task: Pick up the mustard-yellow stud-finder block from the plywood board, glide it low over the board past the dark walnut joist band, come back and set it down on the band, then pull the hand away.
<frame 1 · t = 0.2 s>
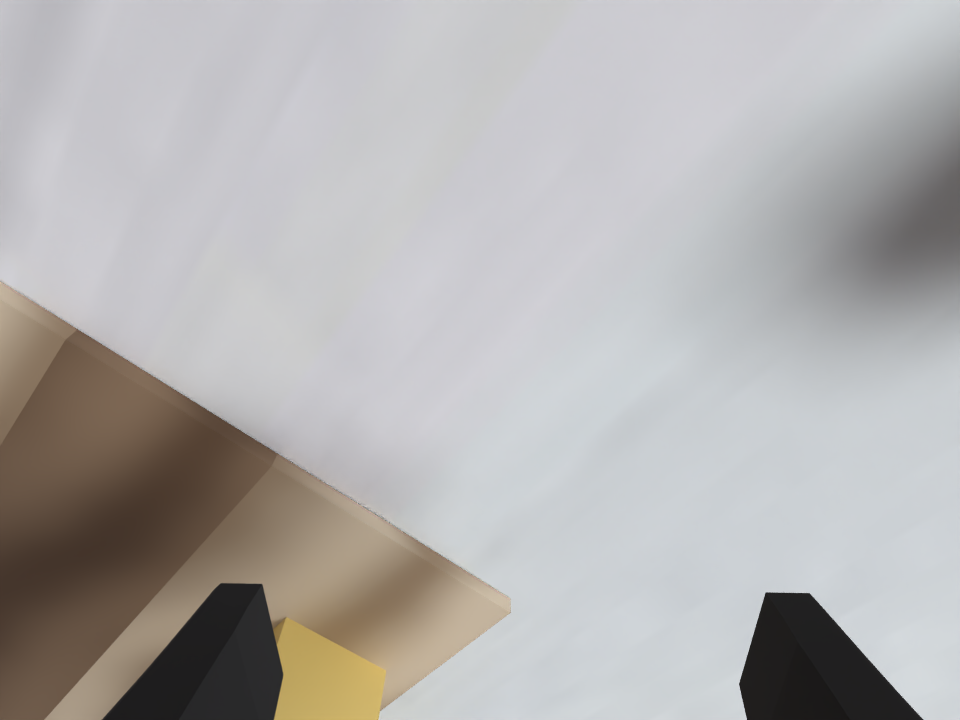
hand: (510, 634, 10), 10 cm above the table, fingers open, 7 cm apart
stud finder: (272, 700, 26), point 1 cm above the table, touching subfloor board
subfloor board: (138, 617, 25), on the table
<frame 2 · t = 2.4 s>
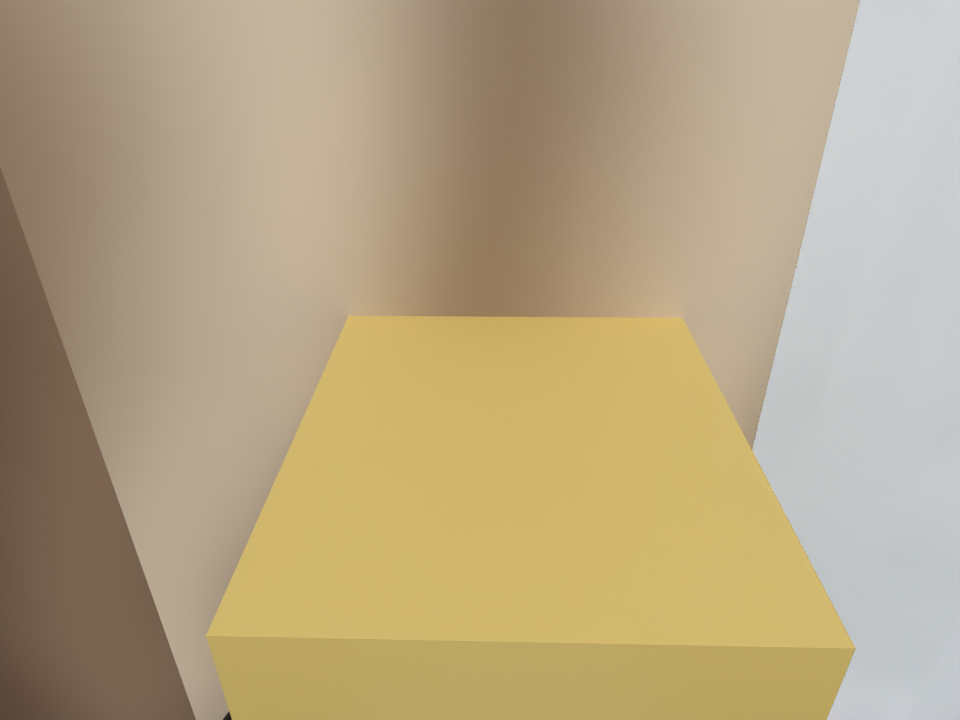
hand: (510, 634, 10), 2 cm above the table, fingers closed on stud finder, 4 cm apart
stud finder: (509, 562, 11), point 1 cm above the table, touching gripper, subfloor board
subfloor board: (165, 531, 12), on the table
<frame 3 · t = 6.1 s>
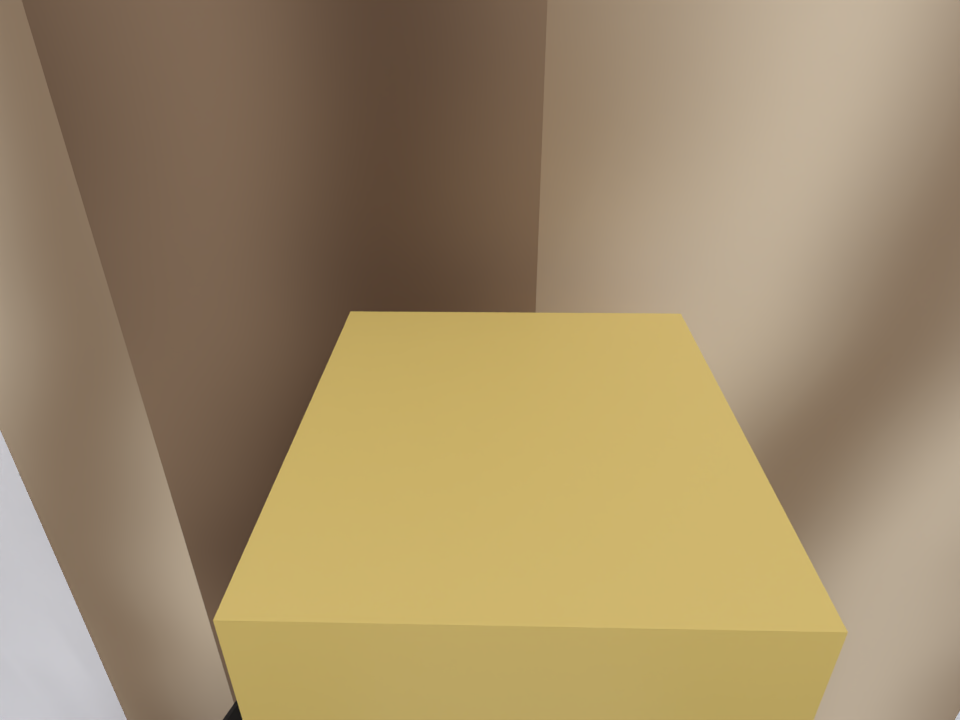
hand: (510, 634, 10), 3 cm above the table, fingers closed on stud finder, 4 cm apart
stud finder: (509, 556, 11), point 2 cm above the table, touching gripper
subfloor board: (537, 482, 13), on the table
when the fingers open (3 cm above the table, at t = 9.9 s): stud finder stays where it is, resting on subfloor board.
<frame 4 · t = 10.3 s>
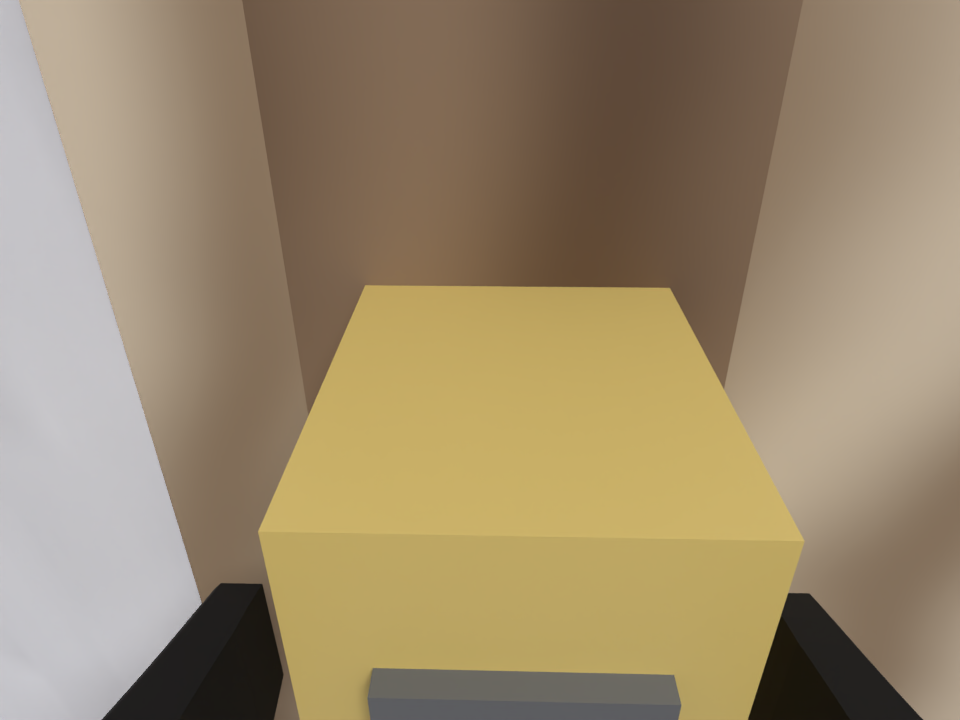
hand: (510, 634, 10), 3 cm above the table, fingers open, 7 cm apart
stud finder: (510, 520, 12), point 1 cm above the table, touching subfloor board
subfloor board: (699, 500, 12), on the table
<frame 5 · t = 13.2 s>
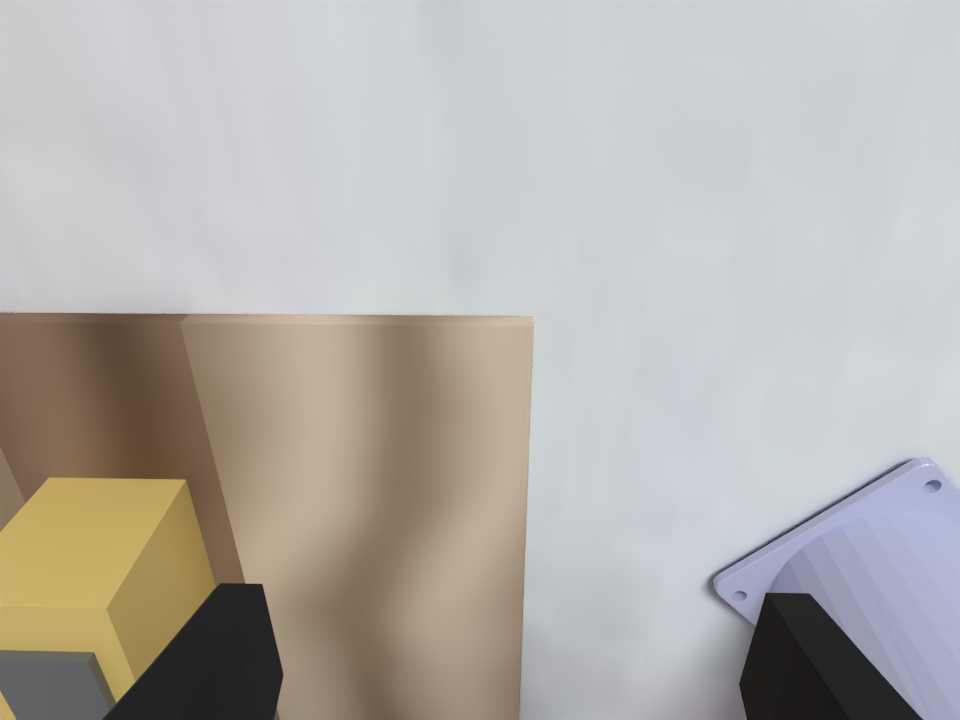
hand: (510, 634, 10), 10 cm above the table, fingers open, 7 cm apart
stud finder: (152, 579, 24), point 1 cm above the table, touching subfloor board
subfloor board: (255, 567, 24), on the table
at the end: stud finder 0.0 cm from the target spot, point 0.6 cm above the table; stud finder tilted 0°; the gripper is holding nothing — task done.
